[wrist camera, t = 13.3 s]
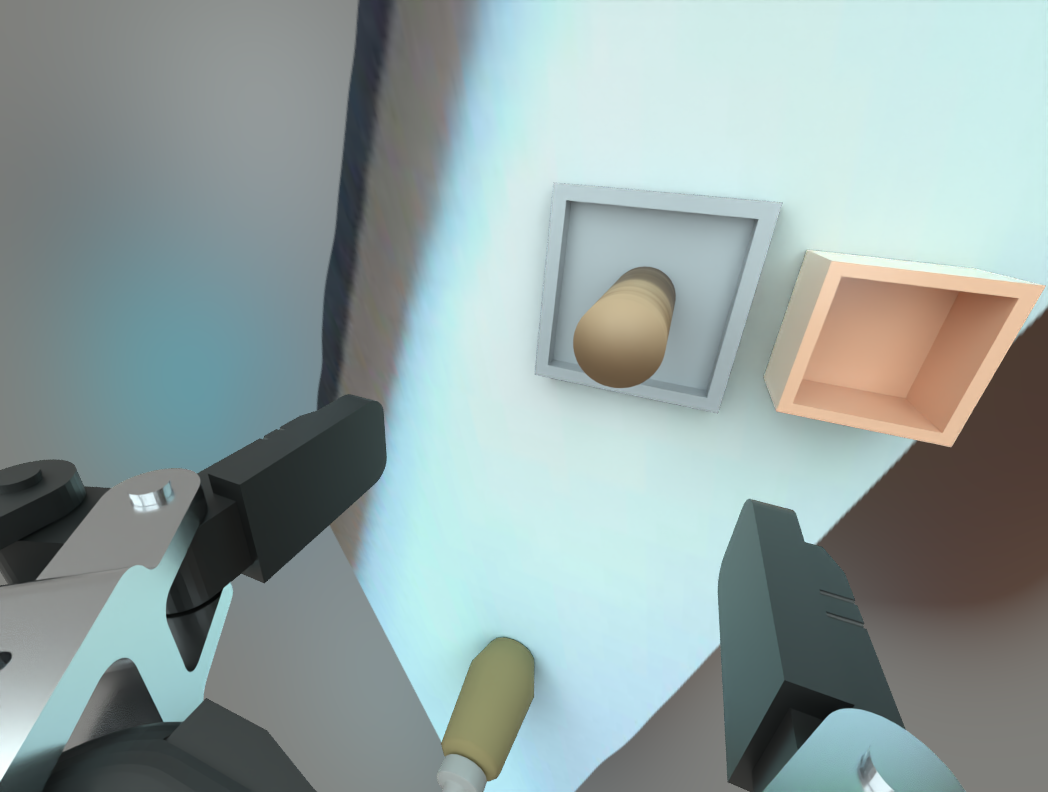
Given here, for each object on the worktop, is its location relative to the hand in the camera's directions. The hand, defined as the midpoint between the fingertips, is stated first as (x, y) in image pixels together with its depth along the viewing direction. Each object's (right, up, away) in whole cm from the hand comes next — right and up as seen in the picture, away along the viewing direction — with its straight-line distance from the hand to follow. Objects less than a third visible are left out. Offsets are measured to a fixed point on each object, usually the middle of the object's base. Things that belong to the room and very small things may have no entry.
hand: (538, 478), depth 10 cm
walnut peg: (+8, +9, +22) cm, 26 cm away
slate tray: (+8, +9, +23) cm, 26 cm away
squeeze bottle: (-2, -30, +45) cm, 54 cm away
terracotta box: (+22, +6, +19) cm, 30 cm away
